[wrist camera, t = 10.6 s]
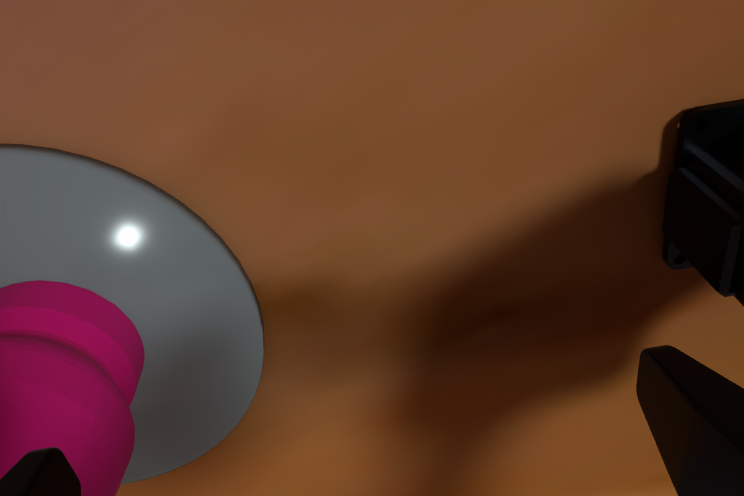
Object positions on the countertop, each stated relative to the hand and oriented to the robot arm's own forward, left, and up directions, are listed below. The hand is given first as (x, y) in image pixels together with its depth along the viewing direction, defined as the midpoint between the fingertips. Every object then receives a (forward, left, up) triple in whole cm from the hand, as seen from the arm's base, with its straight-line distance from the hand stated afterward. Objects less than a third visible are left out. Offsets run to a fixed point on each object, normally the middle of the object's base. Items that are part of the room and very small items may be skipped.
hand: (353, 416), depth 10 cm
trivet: (+12, +7, -13) cm, 19 cm away
